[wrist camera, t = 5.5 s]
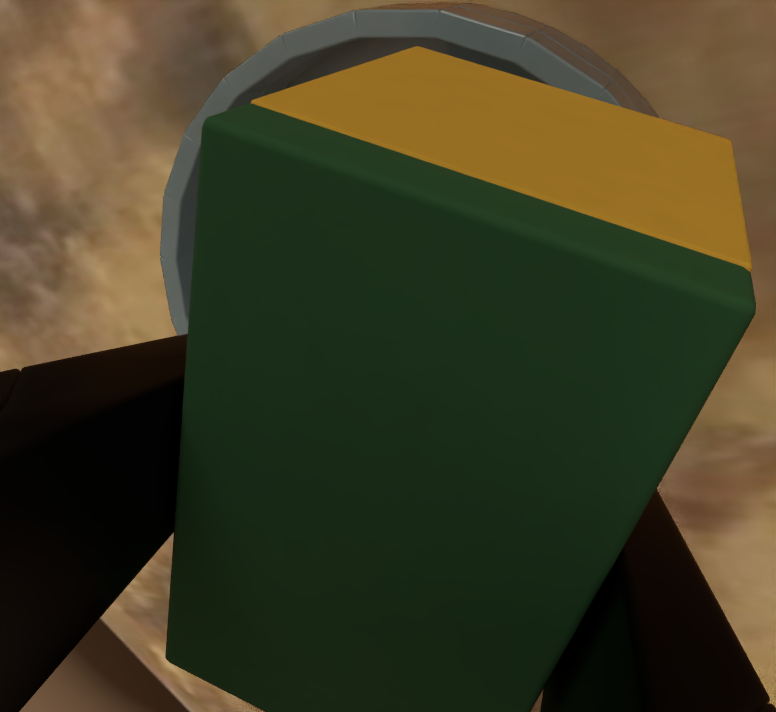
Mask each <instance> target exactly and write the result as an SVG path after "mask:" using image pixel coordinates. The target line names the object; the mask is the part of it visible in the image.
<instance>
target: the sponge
mask: <svg viewBox="0 0 776 712" xmlns="http://www.w3.org/2000/svg"><path fill="white" fill-rule="evenodd" d="M751 271H752V261H751V255H750V249H749V243H748V237H747V231H746V225H745V220H744V214H743V208H742V202H741V196H740V190H739V184H738V178H737V172H736V166H735V160H734V154H733V148H732V142H731V141H730V140H729V139H726V138H723V137H720V136H716V135H713V134H710V133H706V132H703V131H700V130H696V129H693V128H690V127H686V126H683V125H680V124H676V123H673V122H670V121H666V120H663V119H660V118H656V117H653V116H650V115H646V114H643V113H640V112H636V111H633V110H630V109H626V108H623V107H620V106H616V105H613V104H610V103H606V102H603V101H600V100H596V99H593V98H590V97H586V96H583V95H580V94H576V93H573V92H570V91H566V90H563V89H560V88H556V87H553V86H550V85H546V84H543V83H540V82H536V81H533V80H530V79H526V78H523V77H520V76H516V75H513V74H510V73H506V72H503V71H499V70H496V69H493V68H489V67H486V66H483V65H479V64H476V63H473V62H469V61H466V60H463V59H459V58H456V57H453V56H449V55H446V54H443V53H439V52H436V51H433V50H429V49H426V48H423V47H419V46H415V47H412V48H409V49H406V50H403V51H400V52H397V53H394V54H391V55H388V56H385V57H382V58H379V59H376V60H373V61H370V62H367V63H364V64H360V65H357V66H354V67H351V68H348V69H345V70H342V71H339V72H336V73H333V74H330V75H327V76H324V77H321V78H318V79H315V80H312V81H309V82H306V83H303V84H299V85H296V86H293V87H290V88H287V89H284V90H281V91H278V92H275V93H272V94H269V95H266V96H263V97H260V98H257V99H254V100H252V101H251V104H246V105H242V106H239V107H236V108H233V109H230V110H227V111H224V112H221V113H218V114H215V115H212V116H209V117H207V118H206V119H205V121H204V123H203V126H202V134H201V149H200V163H199V178H198V192H197V207H196V221H195V236H194V250H193V265H192V279H191V294H190V308H189V323H188V337H187V352H186V366H185V381H184V395H183V410H182V424H181V439H180V453H179V468H178V482H177V497H176V511H175V526H174V540H173V555H172V569H171V584H170V599H169V613H168V628H167V642H166V659H167V660H168V661H169V662H170V663H172V664H174V665H176V666H178V667H179V668H181V669H183V670H185V671H187V672H189V673H191V674H193V675H195V676H197V677H199V678H201V679H203V680H205V681H207V682H209V683H211V684H213V685H214V686H216V687H218V688H220V689H222V690H224V691H226V692H228V693H230V694H232V695H234V696H236V697H238V698H240V699H242V700H244V701H246V702H248V703H249V704H251V705H253V706H255V707H257V708H259V709H261V710H263V711H265V712H531V710H532V708H533V706H534V704H535V703H536V701H537V699H538V697H539V696H540V694H541V692H542V690H543V689H544V687H545V685H546V683H547V682H548V680H549V678H550V676H551V674H552V673H553V671H554V669H555V667H556V666H557V664H558V662H559V660H560V659H561V657H562V655H563V653H564V651H565V650H566V648H567V646H568V644H569V643H570V641H571V639H572V637H573V636H574V634H575V632H576V630H577V628H578V627H579V625H580V623H581V621H582V620H583V618H584V616H585V614H586V613H587V611H588V609H589V607H590V605H591V604H592V602H593V600H594V598H595V597H596V595H597V593H598V591H599V590H600V588H601V586H602V584H603V582H604V581H605V579H606V577H607V575H608V574H609V572H610V570H611V568H612V567H613V565H614V563H615V561H616V559H617V558H618V556H619V554H620V552H621V551H622V549H623V547H624V545H625V544H626V542H627V540H628V538H629V536H630V535H631V533H632V531H633V529H634V528H635V526H636V524H637V522H638V521H639V519H640V517H641V515H642V513H643V512H644V510H645V508H646V506H647V505H648V503H649V501H650V499H651V498H652V496H653V494H654V492H655V490H656V489H657V487H658V485H659V483H660V482H661V480H662V478H663V476H664V475H665V473H666V471H667V469H668V467H669V466H670V464H671V462H672V460H673V459H674V457H675V455H676V453H677V452H678V450H679V448H680V446H681V444H682V443H683V441H684V439H685V437H686V436H687V434H688V432H689V430H690V429H691V427H692V425H693V423H694V421H695V420H696V418H697V416H698V414H699V413H700V411H701V409H702V407H703V406H704V404H705V402H706V400H707V398H708V397H709V395H710V393H711V391H712V390H713V388H714V386H715V384H716V383H717V381H718V379H719V377H720V375H721V374H722V372H723V370H724V368H725V367H726V365H727V363H728V361H729V360H730V358H731V356H732V354H733V352H734V351H735V349H736V347H737V345H738V344H739V342H740V340H741V338H742V337H743V335H744V333H745V331H746V329H747V328H748V326H749V324H750V322H751V321H752V319H753V317H754V315H755V310H756V302H755V296H754V290H753V283H752V277H751Z"/></svg>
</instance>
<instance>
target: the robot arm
mask: <svg viewBox="0 0 776 712" xmlns="http://www.w3.org/2000/svg"><path fill="white" fill-rule="evenodd" d="M187 337H188V334H183V335H178V336H173V337H169V338H164V339H159V340H154V341H149V342H144V343H139V344H134V345H130V346H125V347H120V348H115V349H110V350H105V351H100V352H96V353H91V354H86V355H81V356H76V357H71V358H66V359H61V360H57V361H52V362H47V363H42V364H37V365H32V366H27V367H24V368H22V370H21V372H20V370H18V369H12V370H7V371H3V372H0V712H19V711H20V710H21V709H22V707H24V705H25V704H26V703H27V702H28V701H29V700H30V698H31V697H32V696H33V695H34V694H35V693H36V691H37V690H38V689H39V688H40V687H41V686H42V684H43V683H44V682H45V681H46V680H47V679H48V677H49V676H50V675H51V674H52V673H53V672H54V670H55V669H56V668H57V667H58V666H59V665H60V664H61V662H62V661H63V660H64V659H65V658H66V657H67V655H68V654H69V653H70V652H71V651H72V650H73V648H74V647H75V646H76V645H77V644H78V643H79V641H80V640H81V639H82V638H83V637H84V635H85V634H86V633H87V632H88V631H89V630H90V629H91V628H92V626H93V625H94V624H95V623H96V621H97V620H98V619H99V618H100V617H101V616H102V615H103V614H104V612H105V611H106V610H107V609H108V608H109V607H110V605H111V604H112V603H113V602H114V601H115V600H116V598H117V597H118V596H119V595H120V594H121V593H122V592H123V590H124V589H125V588H126V587H127V586H128V585H129V583H130V582H131V581H132V580H133V579H134V578H135V576H136V575H137V574H138V573H139V572H140V571H141V569H142V568H143V567H144V566H145V565H146V564H147V562H148V561H149V560H150V559H151V558H152V557H153V556H154V554H155V553H156V552H157V551H158V550H159V549H160V547H161V546H162V545H163V544H164V543H165V542H166V540H167V539H168V538H169V537H170V536H171V535H172V533H173V532H174V526H175V511H176V497H177V482H178V468H179V453H180V439H181V424H182V410H183V395H184V381H185V366H186V352H187ZM769 701H770V698H769V696H768V694H767V692H766V690H765V688H764V686H763V684H762V683H761V681H760V679H759V677H758V675H757V673H756V672H755V670H754V668H753V666H752V664H751V662H750V660H749V659H748V657H747V655H746V653H745V651H744V649H743V648H742V646H741V644H740V642H739V640H738V638H737V636H736V635H735V633H734V631H733V629H732V627H731V625H730V623H729V622H728V620H727V618H726V616H725V614H724V612H723V611H722V609H721V607H720V605H719V603H718V601H717V599H716V598H715V596H714V594H713V592H712V590H711V588H710V587H709V585H708V583H707V581H706V579H705V577H704V575H703V574H702V572H701V570H700V568H699V566H698V564H697V563H696V561H695V559H694V557H693V555H692V553H691V551H690V550H689V548H688V546H687V544H686V542H685V540H684V539H683V537H682V535H681V533H680V531H679V529H678V527H677V526H676V524H675V522H674V520H673V518H672V516H671V515H670V513H669V511H668V509H667V507H666V505H665V503H664V502H663V500H662V498H661V496H660V494H659V492H658V490H657V489H656V490H655V492H654V494H653V496H652V498H651V499H650V501H649V503H648V505H647V506H646V508H645V510H644V512H643V513H642V515H641V517H640V519H639V521H638V522H637V524H636V526H635V528H634V529H633V531H632V533H631V535H630V536H629V538H628V540H627V542H626V544H625V545H624V547H623V549H622V551H621V552H620V554H619V556H618V558H617V559H616V561H615V563H614V565H613V567H612V568H611V570H610V572H609V574H608V575H607V577H606V579H605V581H604V582H603V584H602V586H601V588H600V590H599V591H598V593H597V595H596V597H595V598H594V600H593V602H592V604H591V605H590V607H589V609H588V611H587V613H586V614H585V616H584V618H583V620H582V621H581V623H580V625H579V627H578V628H577V630H576V632H575V634H574V636H573V637H572V639H571V641H570V643H569V644H568V646H567V648H566V650H565V651H564V653H563V655H562V657H561V659H560V660H559V662H558V664H557V666H556V667H555V669H554V671H553V673H552V674H551V676H550V678H549V680H548V682H547V683H546V685H545V687H544V690H543V697H542V703H541V710H540V712H776V708H775V706H774V705H773V704H770V703H769ZM768 703H769V704H768Z"/></svg>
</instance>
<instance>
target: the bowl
mask: <svg viewBox="0 0 776 712" xmlns="http://www.w3.org/2000/svg"><path fill="white" fill-rule="evenodd" d="M415 46H419V47H423V48H426V49H429V50H433V51H436V52H439V53H443V54H446V55H449V56H453V57H456V58H459V59H463V60H466V61H469V62H473V63H476V64H479V65H483V66H486V67H489V68H493V69H496V70H499V71H503V72H506V73H510V74H513V75H516V76H520V77H523V78H526V79H530V80H533V81H536V82H540V83H543V84H546V85H550V86H553V87H556V88H560V89H563V90H566V91H570V92H573V93H576V94H580V95H583V96H586V97H590V98H593V99H596V100H600V101H603V102H606V103H610V104H613V105H616V106H620V107H623V108H626V109H630V110H633V111H636V112H640V113H643V114H646V115H650V116H653V117H656V118H659V116H658V115H657V114H656V112H655V111H654V109H653V108H652V107H651V105H650V104H649V103H648V101H647V100H646V99H645V98H644V96H643V95H642V94H641V93H640V92H639V91H638V90H637V89H636V88H635V87H634V86H633V85H632V84H631V83H630V82H629V81H628V80H627V79H626V78H625V77H624V76H623V75H622V74H621V73H620V72H619V71H618V70H617V69H616V68H614V67H613V66H612V65H611V64H609V63H608V62H607V61H605V60H604V59H603V58H601V57H600V56H599V55H598V54H596V53H595V52H594V51H592V50H591V49H590V48H589V47H587V46H586V45H584V44H582V43H580V42H578V41H577V40H575V39H573V38H571V37H570V36H568V35H566V34H564V33H562V32H561V31H559V30H557V29H555V28H554V27H551V26H549V25H546V24H544V23H541V22H538V21H536V20H533V19H530V18H528V17H525V16H523V15H520V14H517V13H514V12H509V11H505V10H500V9H496V8H491V7H487V6H482V5H478V4H472V3H446V2H437V3H407V4H392V5H385V6H379V7H372V8H365V9H358V10H352V11H349V12H346V13H343V14H340V15H337V16H334V17H331V18H328V19H325V20H322V21H319V22H316V23H313V24H310V25H307V26H304V27H301V28H298V29H295V30H292V31H289V32H286V33H284V34H283V35H280V36H278V37H277V38H275V39H274V40H272V41H271V42H270V43H268V44H267V45H266V46H264V47H263V48H262V49H260V50H259V51H258V52H256V53H255V54H254V55H252V56H251V57H250V58H248V59H247V60H246V61H244V62H243V63H242V64H240V65H239V66H238V67H236V68H235V69H234V70H232V71H231V72H230V73H228V74H227V75H226V76H225V77H224V78H223V79H222V80H221V81H220V83H219V84H218V85H217V87H216V88H215V90H214V91H213V93H212V94H211V95H210V97H209V98H208V100H207V101H206V102H205V104H204V105H203V107H202V108H201V109H200V111H199V112H198V114H197V115H196V117H195V118H194V119H193V121H192V122H191V124H190V125H189V126H188V128H187V129H186V131H185V134H184V135H183V138H182V141H181V144H180V147H179V150H178V153H177V156H176V159H175V162H174V165H173V168H172V171H171V174H170V177H169V180H168V183H167V186H166V189H165V192H164V193H165V194H164V197H163V214H162V230H161V247H160V256H161V258H160V260H161V266H162V271H163V277H164V282H165V288H166V294H167V299H168V305H169V310H170V316H171V317H172V318H171V320H172V323H173V325H174V328H175V330H176V332H177V335H183V334H188V323H189V308H190V294H191V279H192V265H193V250H194V236H195V221H196V207H197V192H198V178H199V163H200V149H201V134H202V126H203V123H204V121H205V119H206V118H207V117H209V116H212V115H215V114H218V113H221V112H224V111H227V110H230V109H233V108H236V107H239V106H242V105H246V104H251V101H252V100H254V99H257V98H260V97H263V96H266V95H269V94H272V93H275V92H278V91H281V90H284V89H287V88H290V87H293V86H296V85H299V84H303V83H306V82H309V81H312V80H315V79H318V78H321V77H324V76H327V75H330V74H333V73H336V72H339V71H342V70H345V69H348V68H351V67H354V66H357V65H360V64H364V63H367V62H370V61H373V60H376V59H379V58H382V57H385V56H388V55H391V54H394V53H397V52H400V51H403V50H406V49H409V48H412V47H415Z"/></svg>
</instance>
